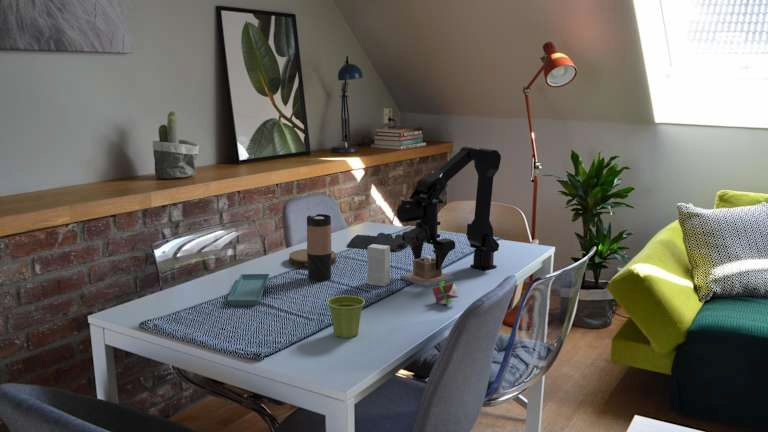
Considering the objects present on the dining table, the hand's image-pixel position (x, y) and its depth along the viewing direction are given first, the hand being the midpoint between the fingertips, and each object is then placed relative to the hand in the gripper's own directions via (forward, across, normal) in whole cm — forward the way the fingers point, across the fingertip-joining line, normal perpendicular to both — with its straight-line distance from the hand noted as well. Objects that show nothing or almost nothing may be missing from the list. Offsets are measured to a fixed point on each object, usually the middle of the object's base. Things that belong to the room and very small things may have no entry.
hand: (427, 266), depth 227 cm
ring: (+3, 0, 0) cm, 3 cm away
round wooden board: (+4, -39, -17) cm, 43 cm away
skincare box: (+4, -6, -15) cm, 17 cm away
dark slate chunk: (+5, -42, +15) cm, 45 cm away
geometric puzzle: (+4, +20, -12) cm, 24 cm away
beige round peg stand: (+4, 0, 0) cm, 4 cm away
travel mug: (+4, -22, -26) cm, 34 cm away
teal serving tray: (+5, -24, -50) cm, 56 cm away
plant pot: (+4, +21, -48) cm, 53 cm away
